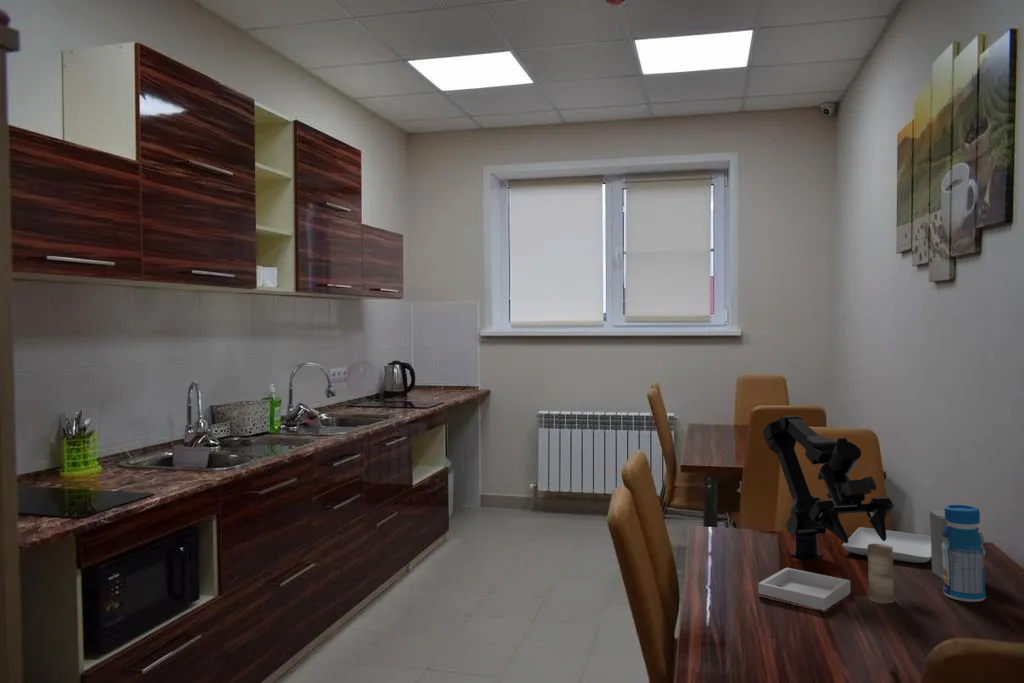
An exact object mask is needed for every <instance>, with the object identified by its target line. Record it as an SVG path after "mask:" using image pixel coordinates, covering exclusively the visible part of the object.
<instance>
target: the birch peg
mask: <svg viewBox="0 0 1024 683" xmlns="http://www.w3.org/2000/svg"><path fill="white" fill-rule="evenodd" d="M867 565H868V566H867V568H868V569H867V570H868V574H867V575H868V599H870V600H872V601H875V602H879V603H892V604H894V603H895V590H894V589H895V588H894V586H895V585H894V560H893V548H892V547H891V546H889V545H885V544H869V545H868V556H867ZM870 600H869V601H870ZM872 601H871V602H872ZM893 602H894V603H893Z"/></svg>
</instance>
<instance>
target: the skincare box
mask: <svg viewBox="0 0 1024 683" xmlns="http://www.w3.org/2000/svg"><path fill="white" fill-rule="evenodd" d="M929 523H930V526H929V527H930V530H929V531H930V536H931V555H932V557H931V572H932V573H933V574H934V575H936V576H937V577H938V578H939V577H940V579H941V580H942V581H944V577H943V553H942V551H941V545H942V543H943V539H942V532H943V530H944V528H945V527H946V525H947V524H948V522H946V520H945V510H930V511H929ZM976 526H977V527H978V525H976Z"/></svg>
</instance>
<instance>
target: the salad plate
mask: <svg viewBox="0 0 1024 683" xmlns="http://www.w3.org/2000/svg"><path fill="white" fill-rule="evenodd" d="M869 544H885V545H889V546H891V547H892V548H893V561H899V562H904V563H906V562H907V563H914V564H915V563H916V564H917V563H919V564H921V563H923V564H924V563H927V562H929V561H930V560H932V555H931V535H925V534H917V533H910V532H904V531H896V530H895V531H894V530H886V540H885V541H883V540H882V539H881V538H880V537H879V535H878V534H877V532H876V531H875V529H874V528H870V527H862V526H861V527H858V528H856V530H855V531H854V532H853V533H852V534H851V535H850V536H849V538H848V543H844V542H843V544H842V548H844V549H845V550H846V551H848V553H849V552H850V553H851V554H856V555H859V556H863V555H865V557H868V545H869Z"/></svg>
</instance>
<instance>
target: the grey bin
mask: <svg viewBox="0 0 1024 683" xmlns="http://www.w3.org/2000/svg"><path fill="white" fill-rule="evenodd" d="M757 584H758V585H757V588H758V589H757V590H758V592H757V593H760V594H764V595H768V596H772V597H776V598H780V599H783V600H787V601H791V602H795V603H799V604H802V605H806V606H810V607H813V608H817V609H822V610H826V609H827V608H829V607H830V606H832V605H833V604H835V603H836V602H838V601H839V600H841V599H842V598H844V597H846V596H847V595H849V594H850V593H851V580H850V579H846V578H845V579H844V578H840V577H836V576H835V577H834V576H830V575H826V574H821V573H815V572H811V571H805V570H801V569H795V568H791V567H785V568H783V569H781V570H780V571H778V572H775V573H774V574H772V575H770V576H768V577H767V578H765V579H764V580H761V581H760V582H758V583H757ZM778 585H779V586H780V587H779V586H778ZM781 586H782V587H781ZM850 595H851V594H850ZM850 595H849V596H850ZM846 598H847V597H846Z"/></svg>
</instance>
